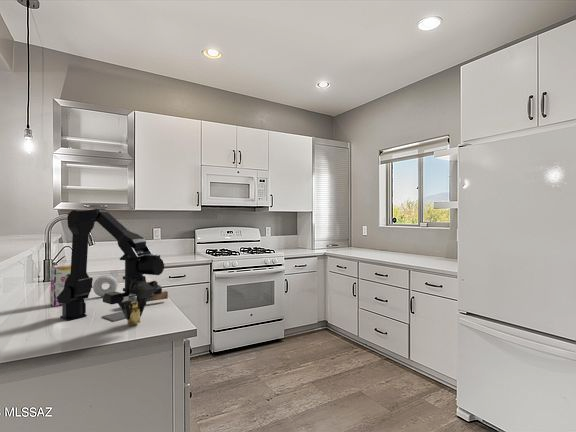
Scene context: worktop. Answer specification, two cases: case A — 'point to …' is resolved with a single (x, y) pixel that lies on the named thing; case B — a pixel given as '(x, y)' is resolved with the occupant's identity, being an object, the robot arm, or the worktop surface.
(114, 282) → the donut
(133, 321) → the brass calibration weight
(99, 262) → the worktop surface
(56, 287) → the candy bar box
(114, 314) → the rubber mat
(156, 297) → the hammer
